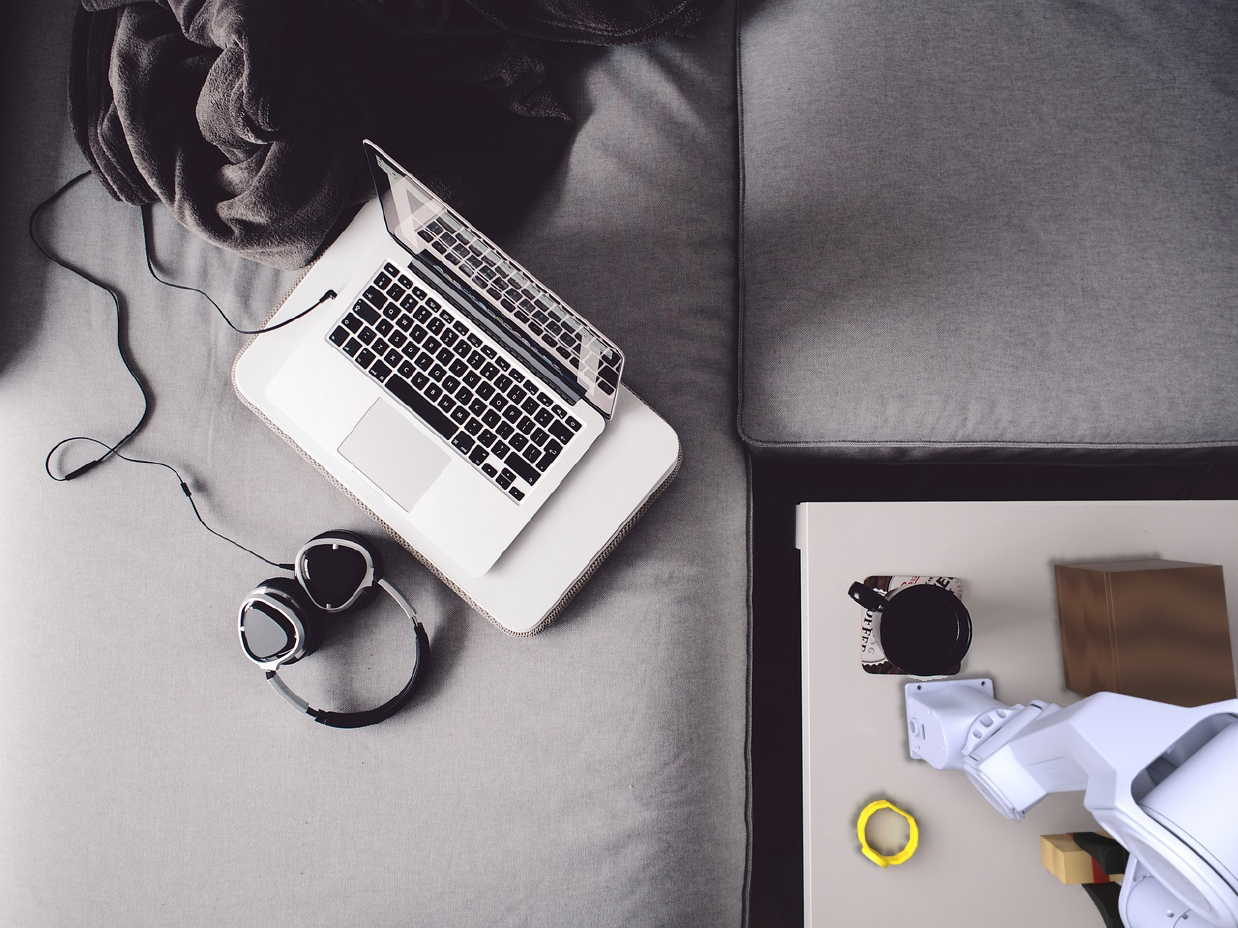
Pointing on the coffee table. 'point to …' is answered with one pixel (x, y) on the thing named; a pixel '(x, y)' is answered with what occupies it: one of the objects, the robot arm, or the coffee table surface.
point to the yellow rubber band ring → (874, 855)
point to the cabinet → (1146, 630)
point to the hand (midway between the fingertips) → (1084, 855)
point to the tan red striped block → (1072, 860)
